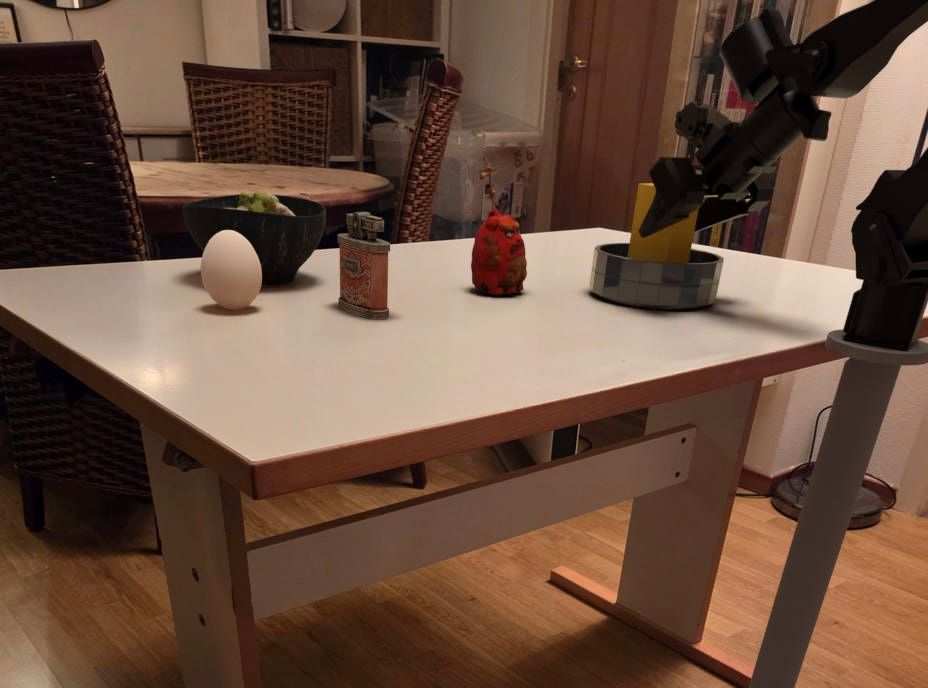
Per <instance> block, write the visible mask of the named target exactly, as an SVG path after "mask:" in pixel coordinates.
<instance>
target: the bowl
mask: <svg viewBox="0 0 928 688" xmlns="http://www.w3.org/2000/svg"><path fill="white" fill-rule="evenodd" d="M181 209H182V214H183V219H184V220H183V221H184V224H185V226H186V227H187V231H188V232H189V234H190V236H191V238H192V240H193V241H194V242H195V244H196V245H197V246H198V248H199V249H200V250H201V251H202V252H203V253H204V250H205V247H206V246H207V244H208V242H209V240H210V239H211V238H212V237H213V236H214V235H215V234H217V233H219V232H221V231H223V230H233V231H236V232H238V233H239V234H241V235H242V236H244V237H245V238H246V239H247V240H248V241H249V242H250V244H251V245H252V247H253V248H254V250H255V252H256V254H257V256H258V258H259V261H260V265H261V271H262V284H261V287H277V286H285V285H289V284H292V283H293V282H294V281H295V278H296V277H297V274H298V272H299V269H300V268H301V267H302V266H303V265H304V264H305V263H306V262H307V261H308V260H309V259H310V258H311V256H312V255H313V253H314V252H315V251H316V249H317V248H318V246H319V245H320V244H321V240H322V237H323V235H324V233H325V229H326V225H327V224H326V223H327V208H326V206H324V205H323V204H321V203H319V202H317V201H314V200H311V199H307V198H302V197H294V196H290V195H281V194H272V193H269V192H260V191H259V192H257V191H256V192H253V193H247V192H245V191H242V192H240V193H239V194H229V195H222V196H221V195H220V196H215V197H210V198H209V197H208V198H204V199H199V200H196V201H192V202H188V203H186V204H184V205H182V207H181Z"/></svg>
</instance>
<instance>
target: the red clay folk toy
mask: <svg viewBox="0 0 928 688" xmlns="http://www.w3.org/2000/svg"><path fill="white" fill-rule="evenodd" d="M483 160H484V161H485V165H486V169H485V168H480V169H479V171H478V180H479V181H484V180H485V178H488V180H489V188H490V193H489V198H490V201H491V211H490V212H489V213H488V215H487V218H486V219H485V221H483V223H482V224H481V225H480V227H479V228H478V230H476V233H475V235H474V242H473V246H472V250H471V262H470V270H471V283H472V285H473V286H474V288H475V290H476V291H477V292H478V293H480V294H481V293H482V294H489V295H491V296H499V297H500V296H502V295H503V296H505V295H510V294H518V293H519V294H520V293H521V291H523V290H524V282H525V280H526V279H527V276H528V271H527V267H528V261H527V258H526V253H527V252H526V245H525V241H524V239H523V237H522V235H521V232H520V224H519V222H517V221H515V219H514V217H513V216H512V215H510V214H505V215H502V214H501V213H500V211H499V210H498V209H497V207H496V204H495V199H494V198H495V195H496V193H497V191H496V190H495V189H494V187H493V180H492V172H493V171H494V170H496V169H498V168H499V167H500V165H499V164H497V165H496V166H494V167H493V168H492V167H491V166H490V163H489V161H488V160H487V157H486V156H485V157H483Z"/></svg>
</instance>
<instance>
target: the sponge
mask: <svg viewBox="0 0 928 688" xmlns="http://www.w3.org/2000/svg"><path fill="white" fill-rule="evenodd" d="M654 196H655V186H654V184H653V182H652V183H651V182H650V183H649V182H648V183H638V186H637V192H636V199H635V205H634V211H633V212H634V214H633V219H632V225H631V232H630V239H629V243H630V244H629V251H628V257H627V258H632V259H639V260H647V261H656V262H668V263H688V262H689V257H690V252H691V249H692V247H693V240H694V235H695V233H694V230H695V225H696V220H697V215H698V209H699V208H698V209H697V210H696V211H694V212H692V213H690V214H689V216H690V217H689V218H687V219H685V220H682V221H680V222H678V223H676V224H674V225H672V226H669V227H667V228H665V229H663V230H661V231H659V232H657V233H654V234H652V235H650V236H648V237H645V238H641V236H640V234H639V228H640V226H641V224H642V222H643V220H644V218H645V216H646V214H647V212H648V210H649V208H650V206H651V204H652V201H653V199H654Z"/></svg>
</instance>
